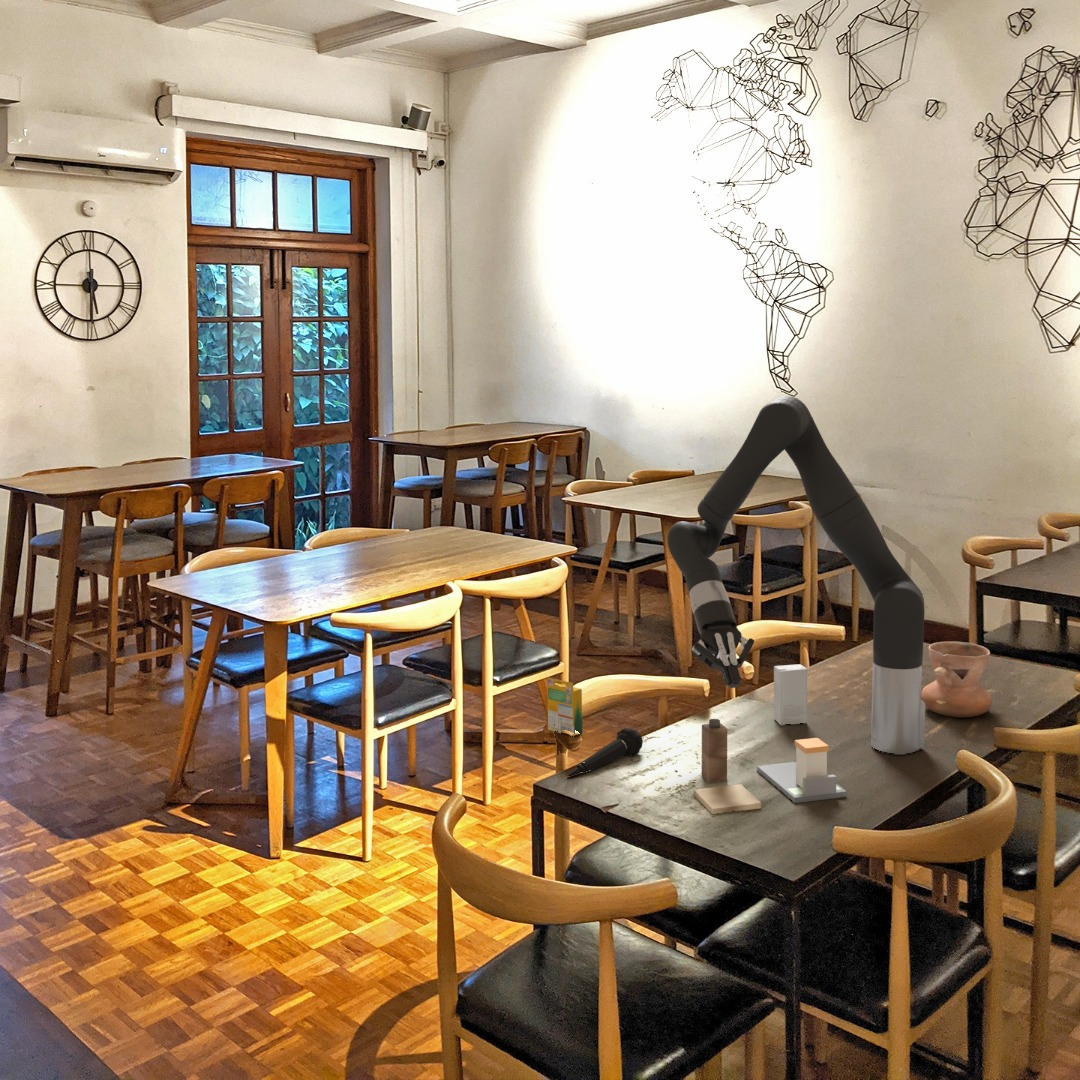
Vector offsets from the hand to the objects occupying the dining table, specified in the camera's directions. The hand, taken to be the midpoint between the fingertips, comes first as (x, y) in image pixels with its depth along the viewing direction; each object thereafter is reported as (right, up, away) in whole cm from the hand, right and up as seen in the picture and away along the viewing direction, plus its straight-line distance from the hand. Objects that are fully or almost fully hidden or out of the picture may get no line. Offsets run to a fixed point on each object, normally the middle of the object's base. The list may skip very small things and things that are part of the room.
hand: (734, 685), depth 225 cm
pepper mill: (-5, -16, -5) cm, 18 cm away
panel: (+11, -17, -9) cm, 22 cm away
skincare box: (+16, -11, +25) cm, 31 cm away
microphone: (-25, -16, +4) cm, 30 cm away
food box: (-32, -13, +22) cm, 40 cm away
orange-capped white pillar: (+12, -16, -13) cm, 24 cm away
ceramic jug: (+53, -9, +29) cm, 61 cm away
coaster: (-4, -18, -16) cm, 25 cm away
